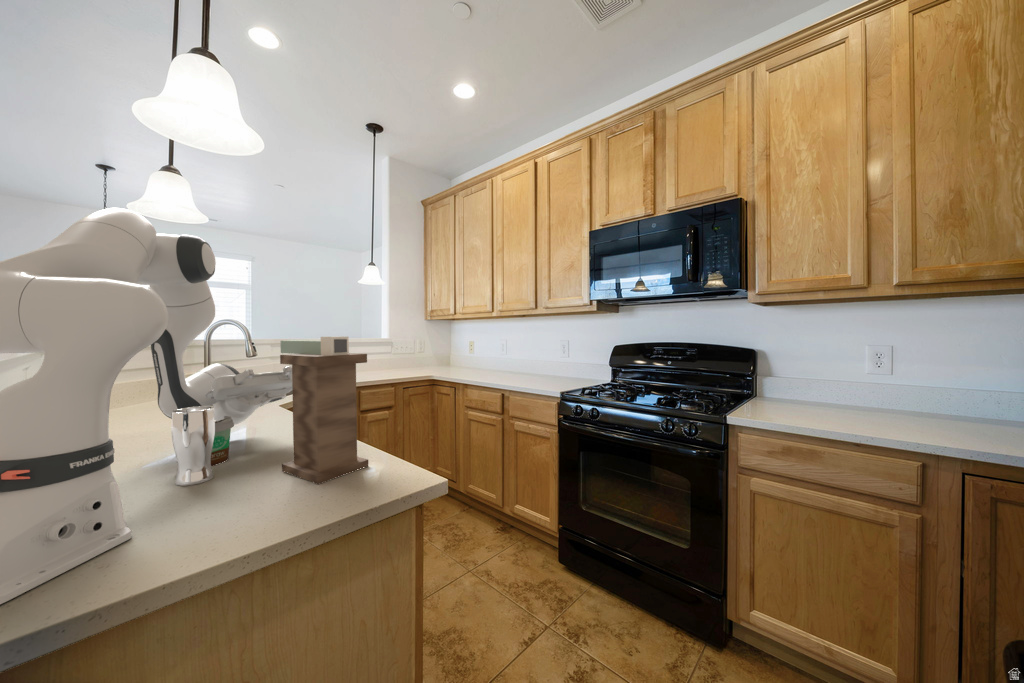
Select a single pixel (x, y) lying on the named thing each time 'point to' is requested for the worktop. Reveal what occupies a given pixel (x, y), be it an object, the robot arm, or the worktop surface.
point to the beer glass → (193, 443)
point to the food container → (221, 440)
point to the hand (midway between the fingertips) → (270, 370)
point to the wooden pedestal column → (324, 415)
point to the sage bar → (317, 346)
